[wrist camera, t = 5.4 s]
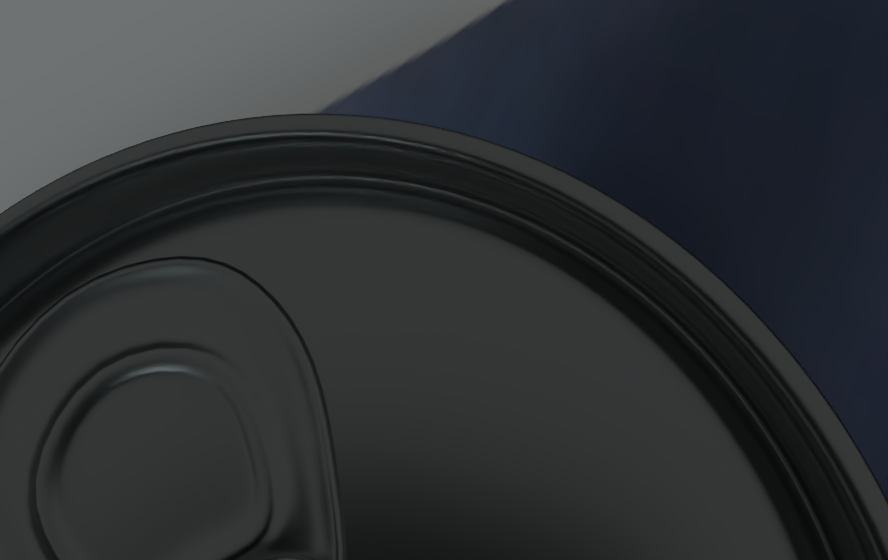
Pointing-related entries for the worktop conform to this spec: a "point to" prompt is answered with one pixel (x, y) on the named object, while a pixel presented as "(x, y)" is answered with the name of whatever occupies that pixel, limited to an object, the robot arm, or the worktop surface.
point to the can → (393, 366)
